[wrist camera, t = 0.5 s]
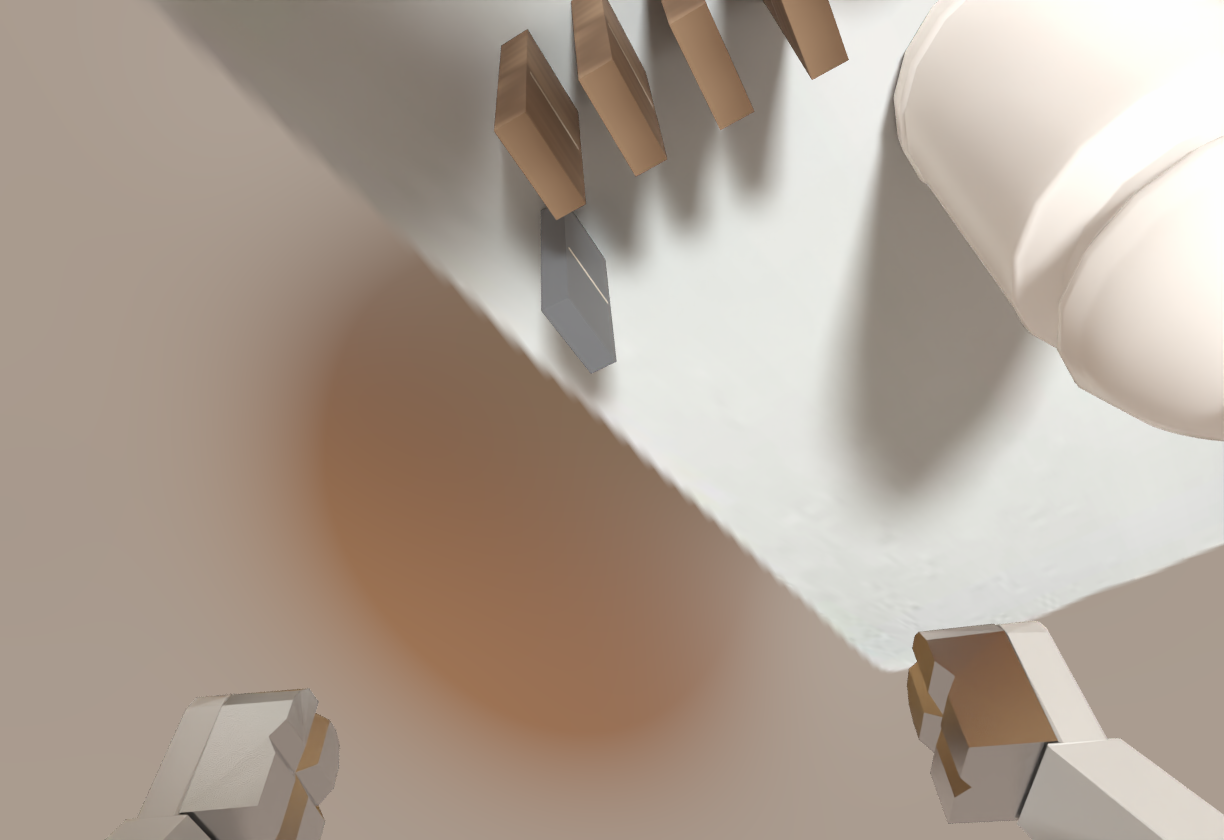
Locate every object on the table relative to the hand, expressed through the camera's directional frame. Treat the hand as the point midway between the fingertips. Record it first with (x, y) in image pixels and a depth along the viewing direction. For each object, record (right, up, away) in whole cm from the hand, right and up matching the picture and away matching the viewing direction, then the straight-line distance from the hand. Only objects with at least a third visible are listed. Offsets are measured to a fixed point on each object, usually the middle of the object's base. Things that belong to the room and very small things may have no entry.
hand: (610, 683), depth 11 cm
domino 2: (0, +23, +31) cm, 39 cm away
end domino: (-2, +15, +39) cm, 41 cm away
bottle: (+22, +23, +33) cm, 46 cm away
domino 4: (+7, +27, +28) cm, 39 cm away
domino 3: (+4, +25, +29) cm, 39 cm away
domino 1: (-4, +22, +32) cm, 39 cm away
